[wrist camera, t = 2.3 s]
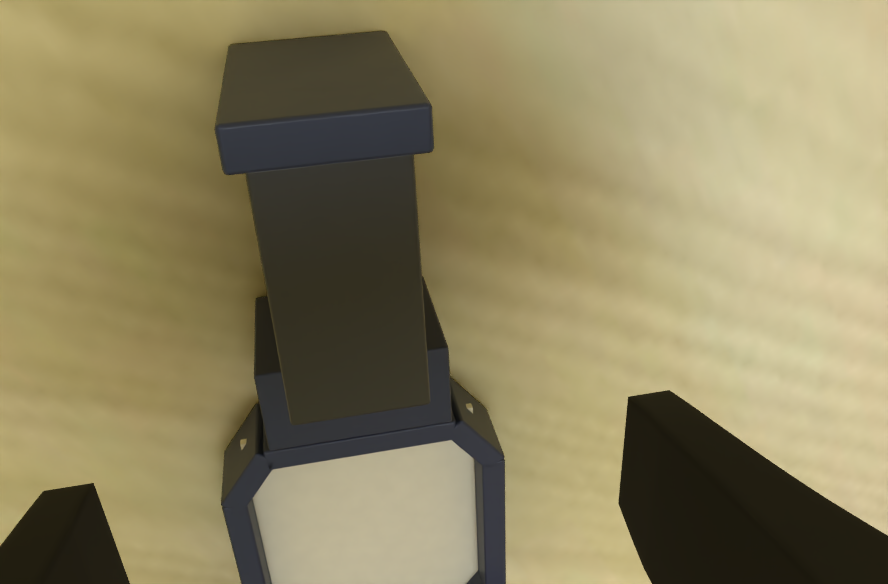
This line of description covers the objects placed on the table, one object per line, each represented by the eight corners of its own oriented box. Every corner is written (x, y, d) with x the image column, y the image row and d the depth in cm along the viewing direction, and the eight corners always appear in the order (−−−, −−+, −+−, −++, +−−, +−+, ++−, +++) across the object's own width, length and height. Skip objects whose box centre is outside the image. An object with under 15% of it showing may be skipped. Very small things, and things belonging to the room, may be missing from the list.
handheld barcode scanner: (128, 52, 16) (73, 139, 11) (477, 21, 17) (554, 90, 12) (264, 616, 24) (264, 793, 20) (490, 573, 25) (538, 732, 21)
